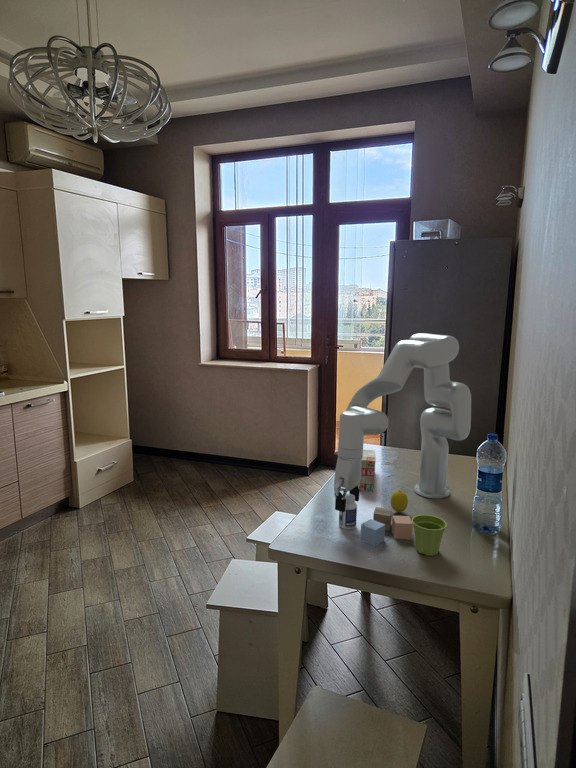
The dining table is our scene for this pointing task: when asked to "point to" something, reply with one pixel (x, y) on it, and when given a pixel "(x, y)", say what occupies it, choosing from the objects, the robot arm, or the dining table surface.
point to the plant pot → (428, 533)
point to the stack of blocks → (367, 470)
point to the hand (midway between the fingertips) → (347, 505)
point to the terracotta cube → (402, 527)
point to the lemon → (399, 501)
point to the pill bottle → (348, 513)
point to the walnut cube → (383, 516)
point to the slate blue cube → (372, 532)
